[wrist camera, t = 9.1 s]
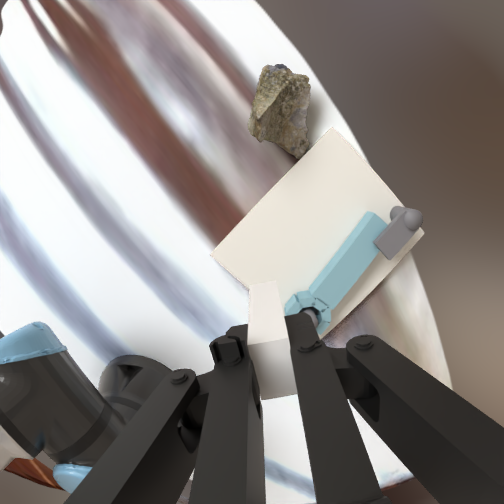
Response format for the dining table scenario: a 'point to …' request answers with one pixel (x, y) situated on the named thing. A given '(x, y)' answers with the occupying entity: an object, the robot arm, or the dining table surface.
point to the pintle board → (319, 226)
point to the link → (340, 272)
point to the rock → (281, 109)
